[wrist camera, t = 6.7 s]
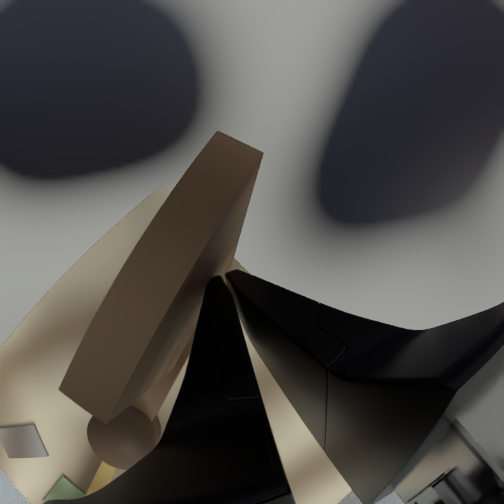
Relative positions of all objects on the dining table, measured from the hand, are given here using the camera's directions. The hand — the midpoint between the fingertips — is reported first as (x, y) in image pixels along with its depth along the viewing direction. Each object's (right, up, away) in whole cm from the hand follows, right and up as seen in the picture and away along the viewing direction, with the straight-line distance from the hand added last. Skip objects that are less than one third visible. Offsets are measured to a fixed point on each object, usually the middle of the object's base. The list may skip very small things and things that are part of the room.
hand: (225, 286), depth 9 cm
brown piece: (-5, -8, +3) cm, 10 cm away
